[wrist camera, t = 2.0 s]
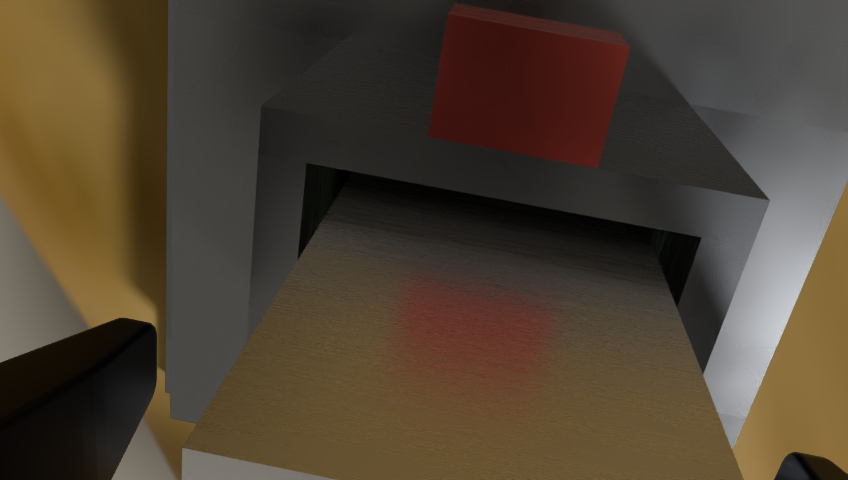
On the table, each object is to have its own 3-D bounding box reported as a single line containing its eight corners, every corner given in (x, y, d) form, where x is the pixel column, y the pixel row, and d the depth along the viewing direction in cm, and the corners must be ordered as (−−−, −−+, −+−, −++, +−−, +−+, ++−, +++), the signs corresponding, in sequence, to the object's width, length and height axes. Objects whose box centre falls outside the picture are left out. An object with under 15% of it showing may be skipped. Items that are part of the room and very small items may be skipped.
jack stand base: (704, 488, 19) (798, 782, 13) (173, 380, 19) (7, 611, 13) (956, -112, 13) (1374, -126, 7) (180, -242, 14) (-116, -369, 7)
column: (560, 298, 17) (624, 898, 7) (375, 262, 17) (164, 795, 7) (610, 115, 15) (799, 563, 5) (402, 77, 15) (168, 433, 5)
